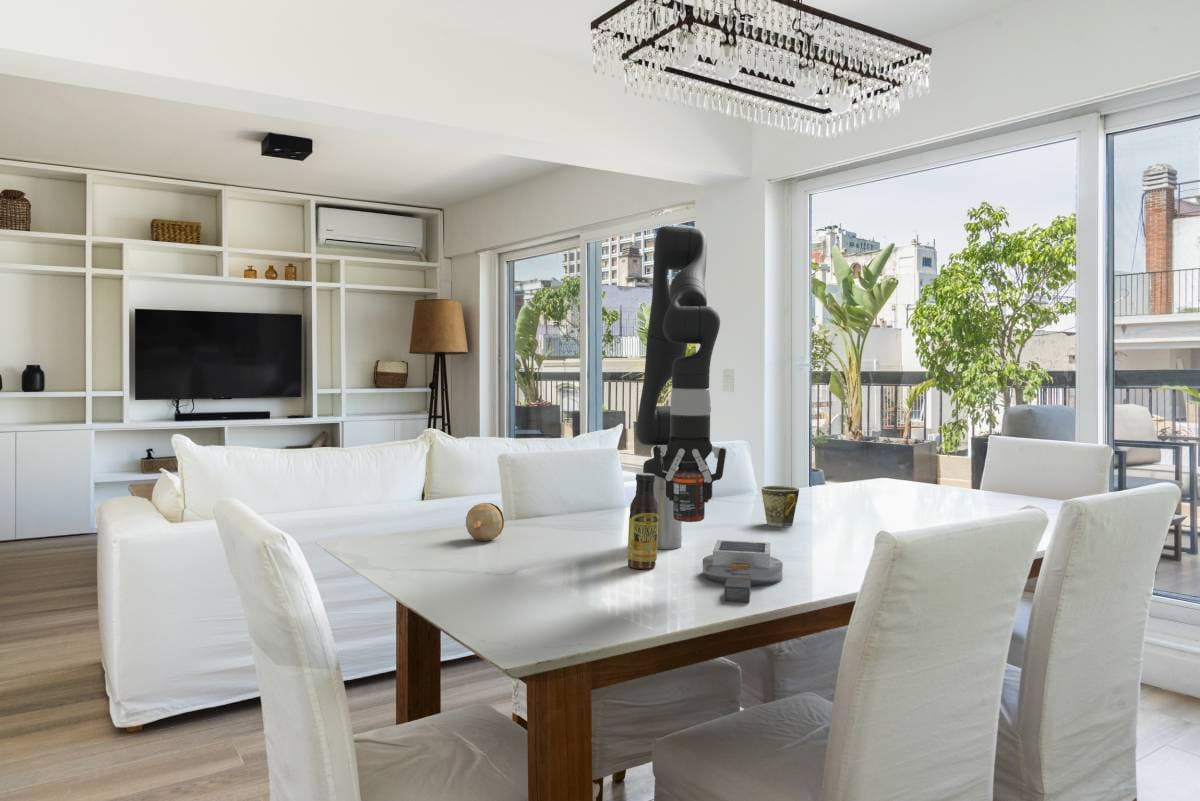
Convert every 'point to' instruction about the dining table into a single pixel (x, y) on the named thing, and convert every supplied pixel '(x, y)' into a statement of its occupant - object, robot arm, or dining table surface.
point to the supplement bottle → (688, 493)
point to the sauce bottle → (643, 524)
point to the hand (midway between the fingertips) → (689, 500)
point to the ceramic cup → (780, 504)
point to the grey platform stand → (741, 568)
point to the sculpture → (484, 521)
